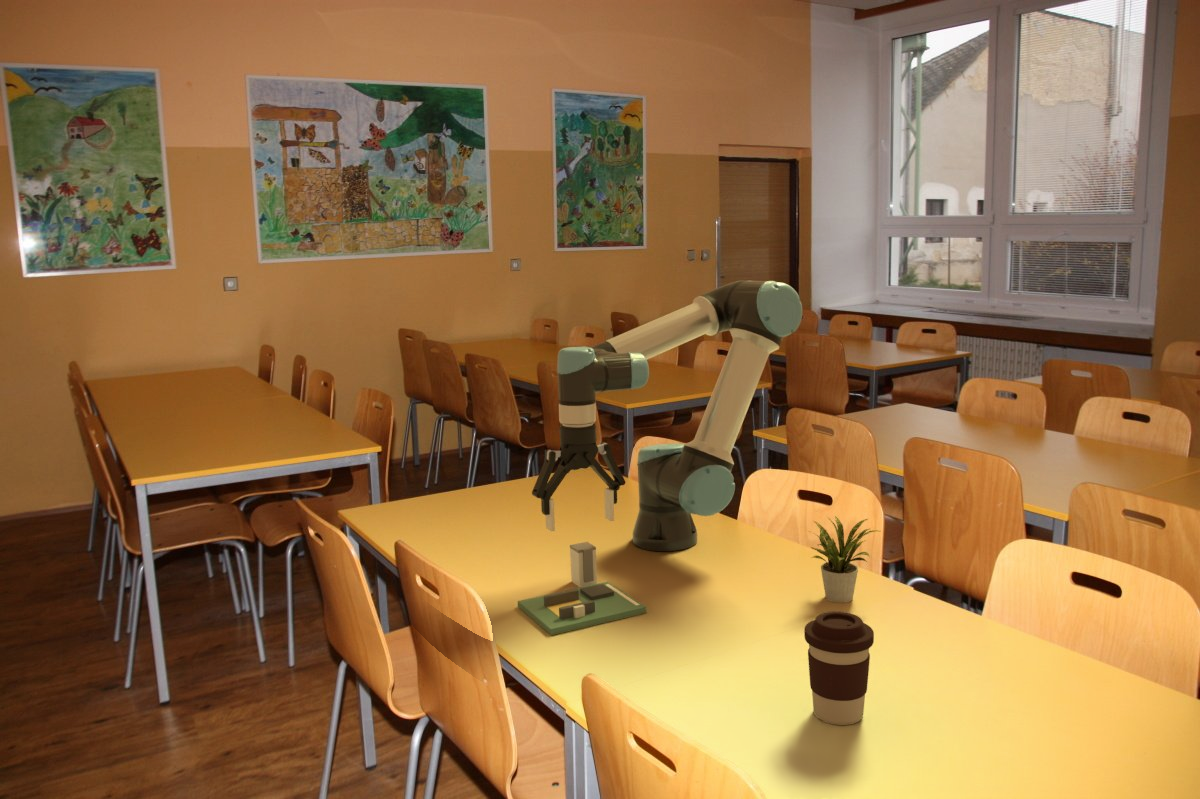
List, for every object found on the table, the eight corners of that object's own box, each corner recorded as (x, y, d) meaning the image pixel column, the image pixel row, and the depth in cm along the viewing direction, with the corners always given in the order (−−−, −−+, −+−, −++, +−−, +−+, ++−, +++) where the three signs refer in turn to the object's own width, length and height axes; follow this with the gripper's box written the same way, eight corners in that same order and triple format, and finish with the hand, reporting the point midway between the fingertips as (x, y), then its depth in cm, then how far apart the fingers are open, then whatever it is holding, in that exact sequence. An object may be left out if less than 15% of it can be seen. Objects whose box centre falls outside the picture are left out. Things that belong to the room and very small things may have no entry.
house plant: (889, 589, 194) (890, 510, 191) (877, 615, 181) (879, 531, 178) (817, 581, 200) (817, 504, 197) (801, 605, 187) (801, 523, 184)
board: (607, 587, 200) (607, 572, 200) (646, 612, 186) (646, 596, 186) (517, 606, 192) (517, 591, 191) (551, 635, 178) (550, 618, 177)
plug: (588, 577, 206) (587, 541, 205) (598, 584, 202) (596, 547, 201) (571, 581, 204) (569, 545, 203) (580, 588, 200) (579, 550, 199)
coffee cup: (796, 701, 150) (796, 609, 147) (859, 696, 151) (860, 604, 148) (815, 733, 140) (816, 635, 138) (882, 728, 141) (884, 630, 138)
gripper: (622, 414, 207) (624, 511, 210) (513, 427, 195) (517, 529, 199) (640, 419, 200) (641, 519, 203) (528, 433, 189) (532, 538, 192)
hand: (580, 524), depth 201 cm, fingers open, 13 cm apart
